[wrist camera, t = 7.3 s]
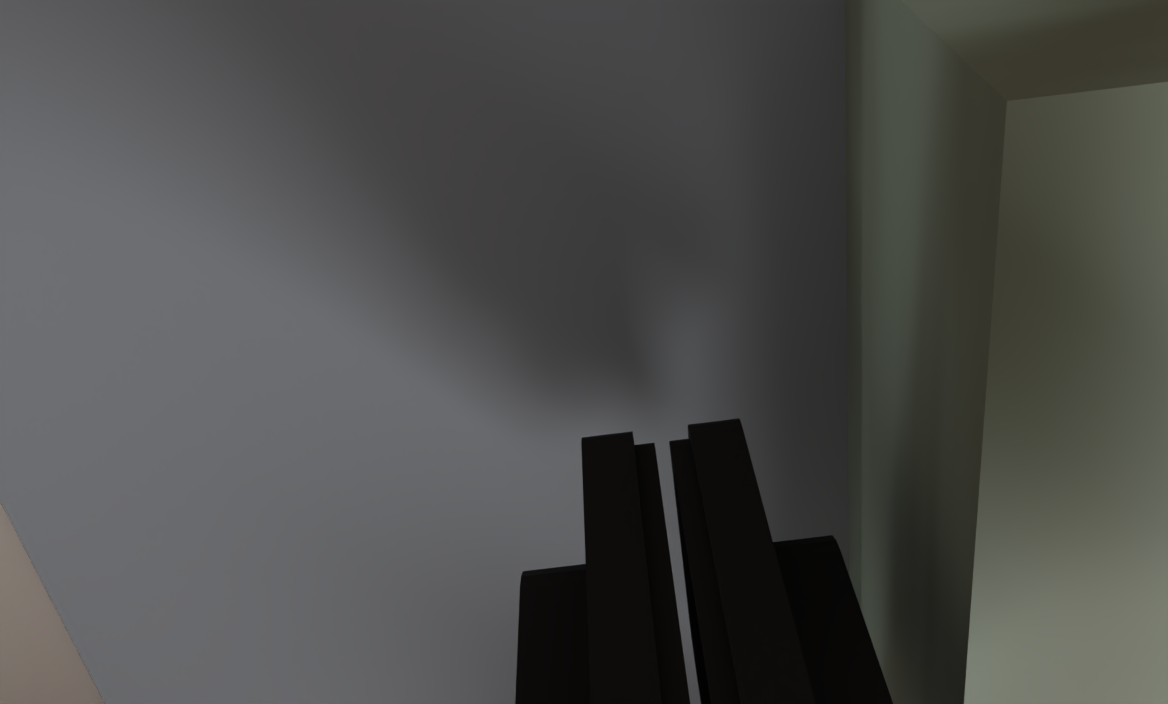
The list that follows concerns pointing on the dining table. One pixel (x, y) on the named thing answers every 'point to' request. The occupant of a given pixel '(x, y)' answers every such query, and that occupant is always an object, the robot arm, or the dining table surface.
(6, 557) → the dining table surface
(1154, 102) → the socket block
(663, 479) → the rail board
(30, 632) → the dining table surface
